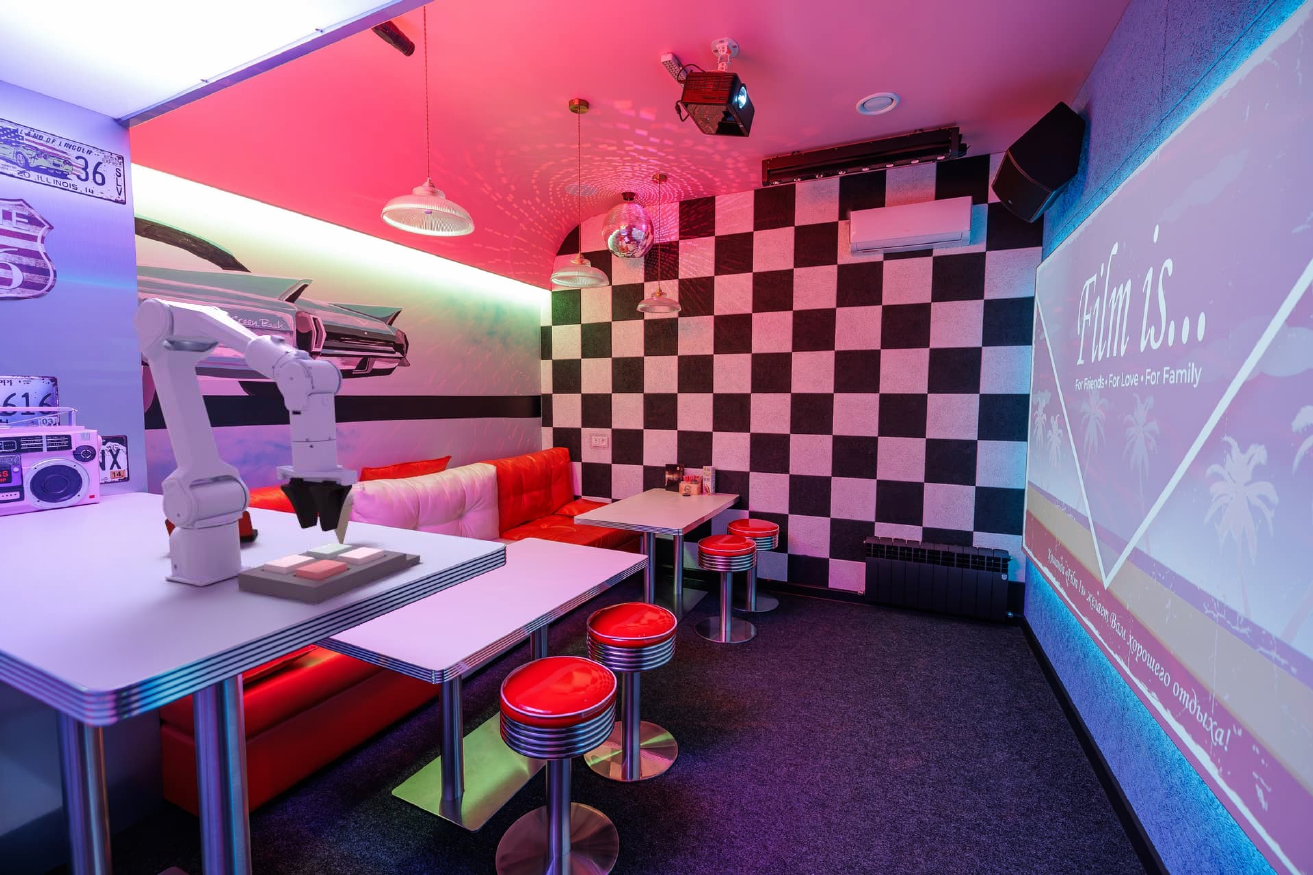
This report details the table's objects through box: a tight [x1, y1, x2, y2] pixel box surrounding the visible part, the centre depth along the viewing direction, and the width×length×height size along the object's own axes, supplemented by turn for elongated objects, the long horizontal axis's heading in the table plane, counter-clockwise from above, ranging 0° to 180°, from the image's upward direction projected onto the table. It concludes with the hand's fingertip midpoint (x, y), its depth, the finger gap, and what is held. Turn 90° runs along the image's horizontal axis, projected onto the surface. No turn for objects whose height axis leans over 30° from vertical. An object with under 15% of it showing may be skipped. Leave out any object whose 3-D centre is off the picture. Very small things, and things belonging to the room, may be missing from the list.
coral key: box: [295, 560, 347, 581], centre depth 82 cm, size 5×5×1 cm
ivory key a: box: [263, 554, 315, 575], centre depth 85 cm, size 5×5×1 cm
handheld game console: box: [164, 509, 259, 544], centre depth 105 cm, size 12×11×7 cm
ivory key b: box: [337, 546, 385, 566], centre depth 89 cm, size 5×5×1 cm
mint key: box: [306, 542, 354, 560], centre depth 91 cm, size 5×5×1 cm
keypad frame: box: [237, 543, 421, 605], centre depth 88 cm, size 17×20×2 cm
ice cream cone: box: [333, 489, 355, 544], centre depth 104 cm, size 5×5×15 cm
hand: (319, 528), depth 82 cm, fingers open, 4 cm apart
